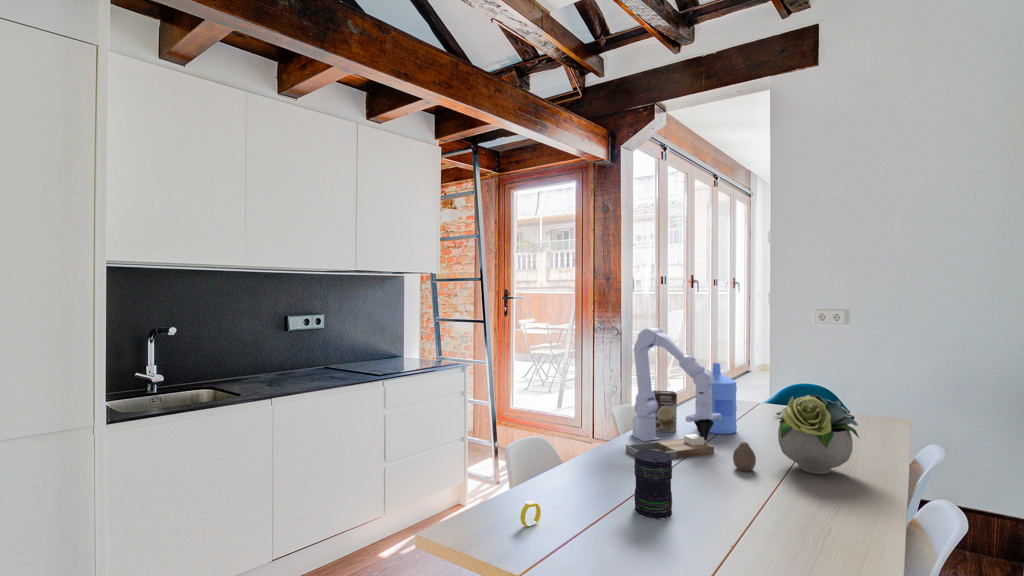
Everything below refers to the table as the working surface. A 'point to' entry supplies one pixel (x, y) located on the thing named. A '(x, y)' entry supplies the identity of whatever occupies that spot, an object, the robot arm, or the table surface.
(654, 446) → the box
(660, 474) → the storage jar
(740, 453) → the brown oval piece
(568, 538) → the table surface
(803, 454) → the flower arrangement
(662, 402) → the coffee box
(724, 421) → the water jug
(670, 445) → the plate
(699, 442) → the white square block
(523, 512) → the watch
